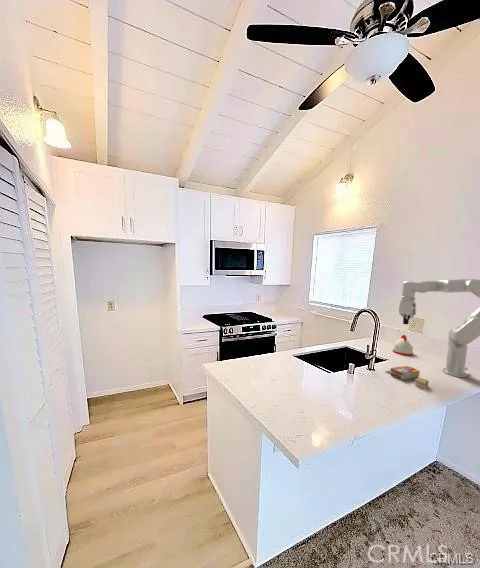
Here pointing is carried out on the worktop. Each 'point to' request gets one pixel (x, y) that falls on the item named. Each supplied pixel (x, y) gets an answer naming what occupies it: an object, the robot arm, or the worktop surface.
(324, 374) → the worktop surface
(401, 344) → the kitchen timer
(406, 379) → the mat
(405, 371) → the candy box
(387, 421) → the worktop surface
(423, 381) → the oak block
